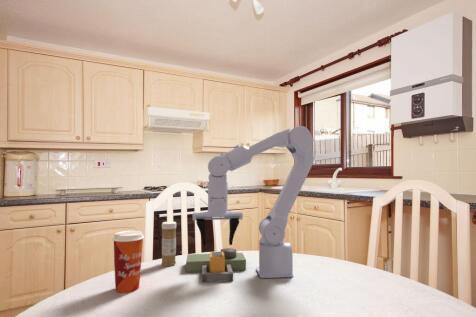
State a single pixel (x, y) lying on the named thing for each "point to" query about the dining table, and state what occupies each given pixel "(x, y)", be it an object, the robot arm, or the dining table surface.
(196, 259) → the green block with knob
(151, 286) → the dining table surface
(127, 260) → the paper cup
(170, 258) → the sprinkles bottle
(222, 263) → the chute block
